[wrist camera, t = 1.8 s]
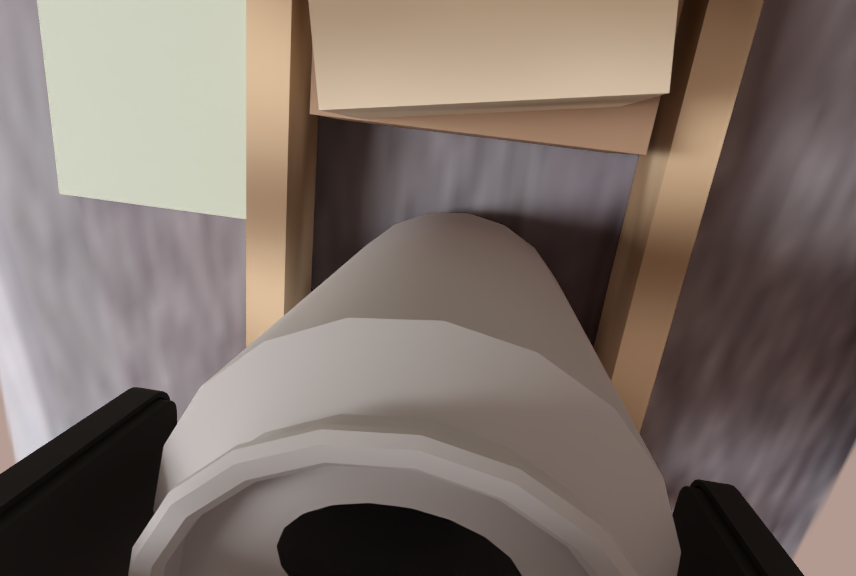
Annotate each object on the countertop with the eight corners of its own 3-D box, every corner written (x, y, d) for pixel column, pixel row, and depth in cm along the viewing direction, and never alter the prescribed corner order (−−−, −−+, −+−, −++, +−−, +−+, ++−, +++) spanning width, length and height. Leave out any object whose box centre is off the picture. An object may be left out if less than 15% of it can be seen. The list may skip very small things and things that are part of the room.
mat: (41, -35, 15) (32, -39, 14) (258, -14, 14) (254, -17, 14) (66, 192, 17) (59, 193, 17) (256, 218, 16) (253, 219, 16)
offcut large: (367, -100, 14) (322, -196, 10) (654, -75, 13) (724, -166, 9) (352, 121, 15) (309, 114, 12) (604, 152, 15) (646, 155, 11)
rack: (289, -229, 13) (128, -537, 7) (774, -198, 12) (1050, -522, 6) (274, 447, 19) (184, 578, 13) (589, 502, 18) (638, 666, 12)
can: (584, 228, 15) (889, 480, 4) (534, 428, 17) (630, 964, 6) (356, 190, 16) (17, 312, 4) (335, 390, 18) (76, 820, 6)
